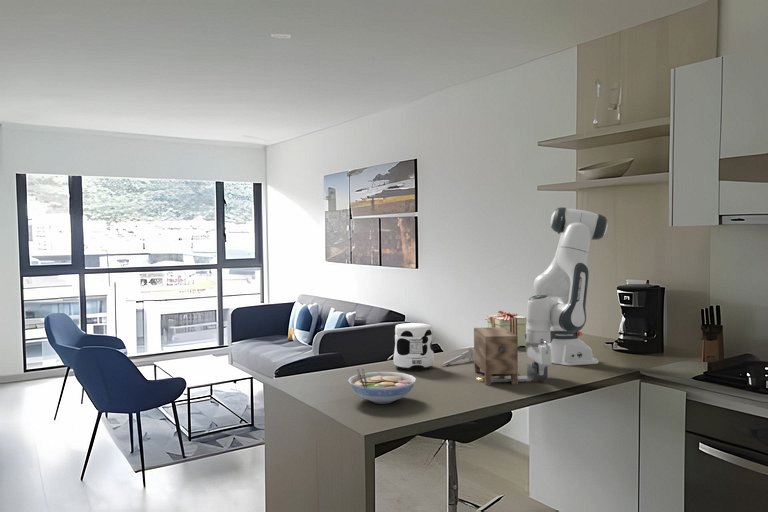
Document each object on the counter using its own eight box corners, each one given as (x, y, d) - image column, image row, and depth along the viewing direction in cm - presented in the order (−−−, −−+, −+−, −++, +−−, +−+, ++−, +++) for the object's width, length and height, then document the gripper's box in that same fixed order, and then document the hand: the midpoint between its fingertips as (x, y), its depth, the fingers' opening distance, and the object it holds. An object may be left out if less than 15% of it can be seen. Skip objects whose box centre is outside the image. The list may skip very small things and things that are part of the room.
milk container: (412, 362, 258) (412, 321, 257) (442, 367, 245) (442, 325, 245) (384, 368, 246) (384, 325, 245) (414, 374, 233) (414, 330, 233)
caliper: (472, 360, 261) (471, 346, 261) (473, 361, 260) (473, 347, 260) (440, 367, 248) (440, 352, 248) (442, 367, 247) (442, 352, 247)
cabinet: (503, 371, 238) (503, 327, 237) (518, 385, 215) (518, 336, 214) (474, 371, 237) (473, 327, 237) (486, 385, 214) (486, 337, 214)
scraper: (542, 376, 228) (542, 361, 228) (549, 382, 219) (549, 366, 219) (486, 377, 227) (486, 362, 227) (491, 383, 218) (491, 367, 218)
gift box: (480, 344, 300) (480, 311, 300) (511, 342, 307) (511, 309, 306) (498, 350, 284) (497, 315, 284) (530, 347, 291) (530, 313, 290)
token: (487, 379, 225) (487, 376, 225) (490, 382, 220) (490, 379, 220) (475, 379, 225) (475, 376, 225) (477, 382, 220) (477, 379, 220)
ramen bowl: (421, 410, 183) (421, 384, 183) (349, 413, 182) (348, 387, 181) (411, 390, 208) (411, 367, 208) (347, 392, 206) (347, 369, 206)
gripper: (555, 341, 213) (556, 379, 213) (538, 333, 233) (538, 367, 233) (538, 342, 212) (539, 379, 213) (522, 333, 233) (523, 367, 233)
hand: (538, 373), depth 223 cm, fingers closed on scraper, 3 cm apart
